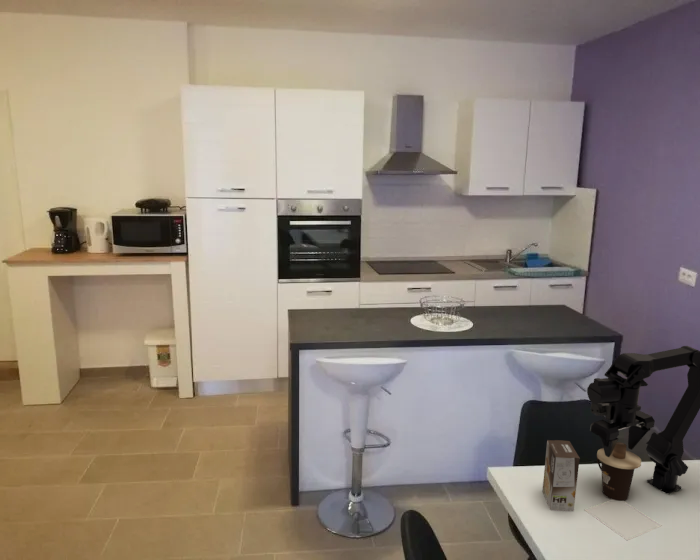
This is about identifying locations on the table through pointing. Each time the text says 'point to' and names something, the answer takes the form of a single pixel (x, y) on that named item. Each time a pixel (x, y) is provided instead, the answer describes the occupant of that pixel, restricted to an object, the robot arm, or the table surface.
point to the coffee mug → (615, 481)
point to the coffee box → (560, 475)
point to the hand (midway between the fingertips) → (619, 452)
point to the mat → (622, 518)
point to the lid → (620, 457)
